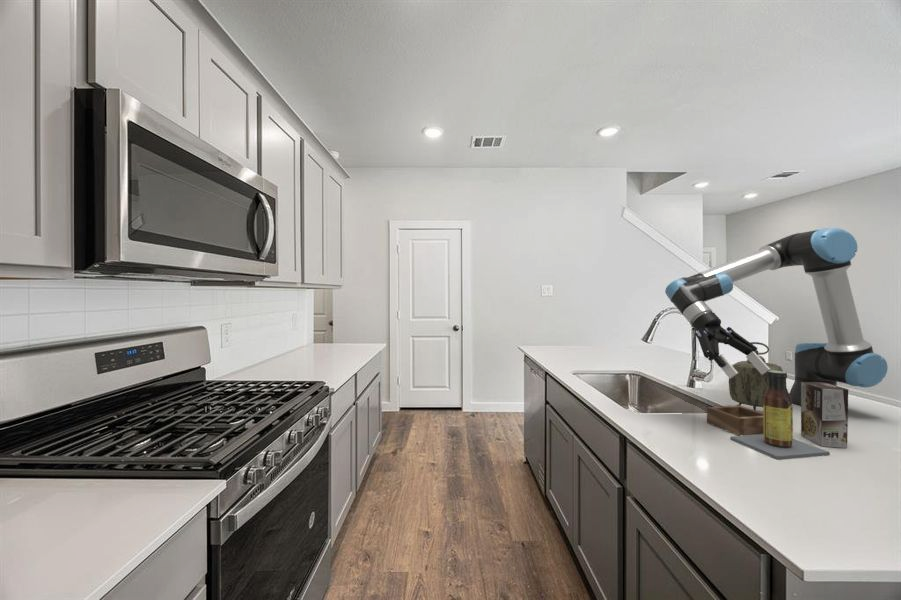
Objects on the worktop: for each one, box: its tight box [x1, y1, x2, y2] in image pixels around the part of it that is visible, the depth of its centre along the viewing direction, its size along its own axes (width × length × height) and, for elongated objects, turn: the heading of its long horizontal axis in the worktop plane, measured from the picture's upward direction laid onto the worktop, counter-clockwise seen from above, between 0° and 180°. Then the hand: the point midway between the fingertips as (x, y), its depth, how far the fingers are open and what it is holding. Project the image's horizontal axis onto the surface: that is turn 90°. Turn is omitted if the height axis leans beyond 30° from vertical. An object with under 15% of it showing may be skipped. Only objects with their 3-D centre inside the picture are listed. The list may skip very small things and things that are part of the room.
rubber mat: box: [729, 434, 831, 460], centre depth 110 cm, size 16×14×1 cm
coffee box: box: [800, 382, 849, 449], centre depth 113 cm, size 9×6×16 cm
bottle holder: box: [706, 404, 764, 436], centre depth 125 cm, size 12×12×5 cm
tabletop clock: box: [728, 341, 784, 411], centre depth 138 cm, size 14×9×25 cm, turn 43°
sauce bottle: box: [762, 370, 794, 447], centre depth 109 cm, size 6×6×20 cm
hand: (750, 373), depth 116 cm, fingers open, 13 cm apart
